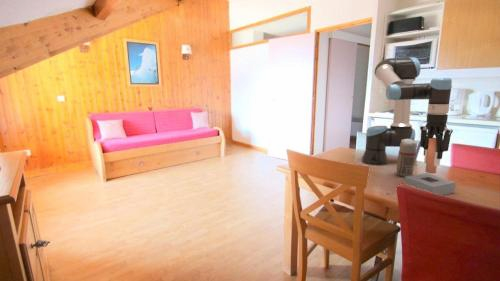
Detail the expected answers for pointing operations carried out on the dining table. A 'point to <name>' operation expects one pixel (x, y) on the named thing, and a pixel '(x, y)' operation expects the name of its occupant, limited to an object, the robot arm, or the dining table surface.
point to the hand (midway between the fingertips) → (431, 164)
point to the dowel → (431, 156)
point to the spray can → (406, 157)
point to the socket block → (431, 183)
